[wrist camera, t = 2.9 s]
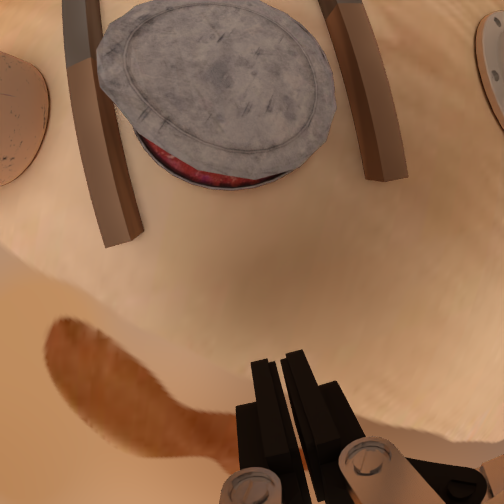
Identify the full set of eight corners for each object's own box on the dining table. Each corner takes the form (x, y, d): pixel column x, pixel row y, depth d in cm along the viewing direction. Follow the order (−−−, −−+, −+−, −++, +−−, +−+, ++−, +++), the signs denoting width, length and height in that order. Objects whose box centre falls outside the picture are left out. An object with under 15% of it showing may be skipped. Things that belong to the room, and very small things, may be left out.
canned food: (171, 75, 20) (136, -42, 10) (317, 79, 19) (342, -44, 10) (134, 227, 17) (28, 130, 7) (319, 240, 17) (388, 133, 7)
